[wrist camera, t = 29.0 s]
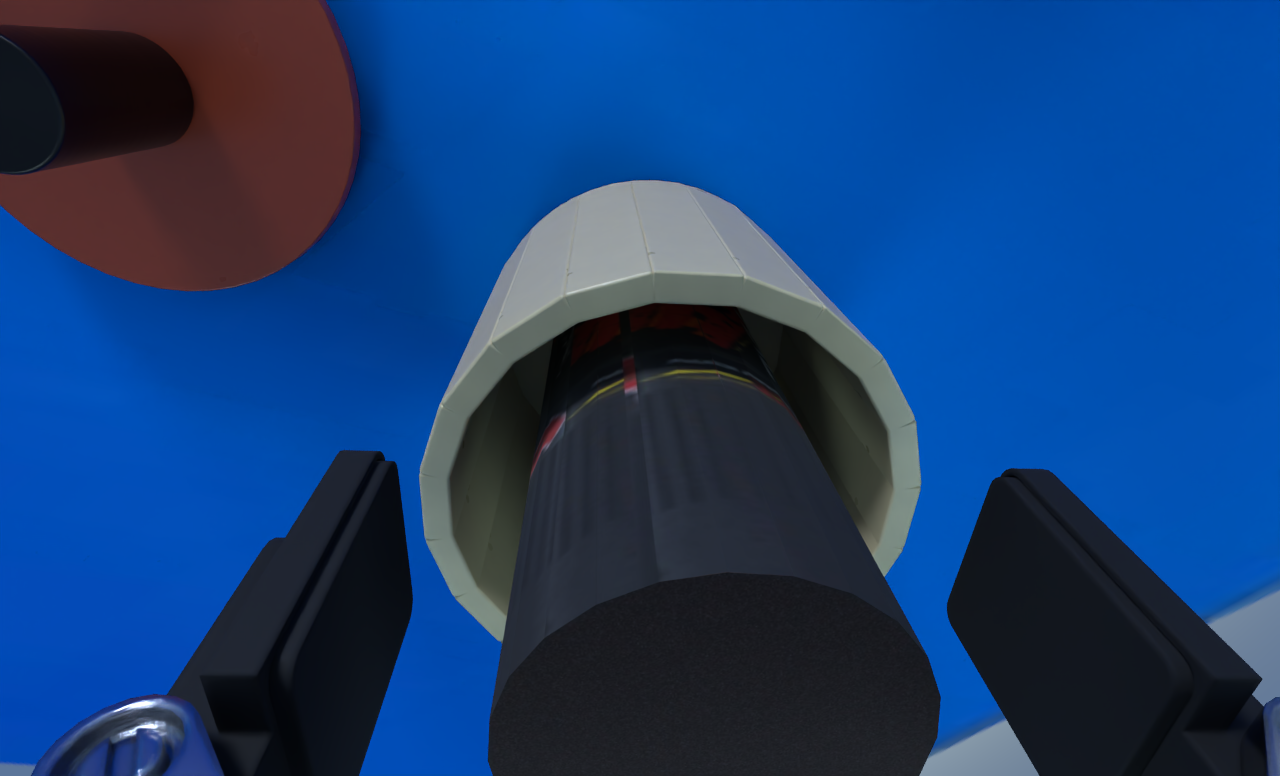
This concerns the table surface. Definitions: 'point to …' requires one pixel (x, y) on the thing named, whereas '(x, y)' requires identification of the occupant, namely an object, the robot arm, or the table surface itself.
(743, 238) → the canister
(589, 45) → the table surface
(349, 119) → the lid
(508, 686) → the deodorant
